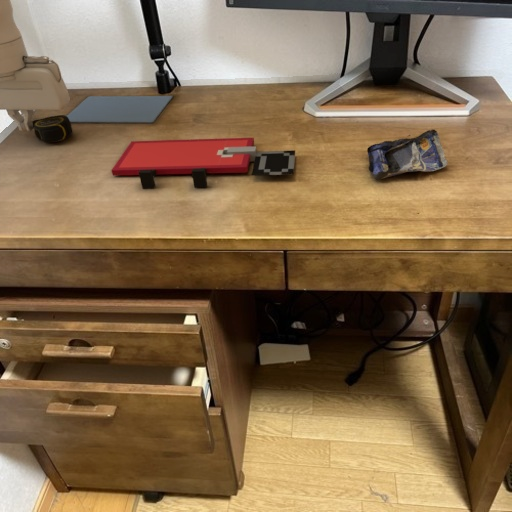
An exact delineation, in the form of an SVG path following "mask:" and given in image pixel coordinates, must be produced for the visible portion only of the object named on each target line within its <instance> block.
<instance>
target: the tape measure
mask: <svg viewBox="0 0 512 512" xmlns="http://www.w3.org/2000/svg"><path fill="white" fill-rule="evenodd" d="M32 123H33V128H34V129H33V131H34V135H35V137H36V138H37V139H38V140H39V142H42V143H57V142H61V141H64V140H65V139H67V138H69V137H71V135H72V134H73V126H72V123H70V120H69V118H68V117H67V115H64V114H59V115H53V116H52V115H51V116H46V117H43V118H39V119H34V120H32Z"/></svg>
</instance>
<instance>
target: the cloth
mask: <svg viewBox="0 0 512 512" xmlns="http://www.w3.org/2000/svg"><path fill="white" fill-rule="evenodd" d="M173 98H174V95H88V96H87V98H85V99H84V100H83V101H81V102H80V103H79V104H78V105H77V106H76V107H75V108H74V109H73V110H72V111H71V112H69V113H68V114H67V115H66V116H67V117H68V118H69V120H70V123H71V124H154V123H155V121H156V120H157V119H158V118H159V116H160V115H161V113H162V112H163V111H164V110H165V108H166V107H167V106H168V104H169V103H170V102H171V100H173Z"/></svg>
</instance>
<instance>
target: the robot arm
mask: <svg viewBox="0 0 512 512" xmlns="http://www.w3.org/2000/svg"><path fill="white" fill-rule="evenodd" d="M12 5H13V4H12V3H11V0H0V110H2V111H3V110H4V111H6V113H7V115H8V117H10V118H11V119H12V120H13V122H15V123H16V125H17V127H18V130H19V131H20V132H32V131H34V128H33V123H32V121H33V117H34V113H35V111H63V110H64V109H65V108H66V107H68V105H69V104H70V101H71V97H70V96H71V95H70V94H69V90H68V88H67V85H66V83H65V80H64V78H63V76H62V73H61V69H60V66H59V64H58V63H57V62H56V61H54V60H53V59H51V58H50V57H49V56H45V55H43V56H42V55H41V56H31V55H30V56H29V54H28V51H27V47H26V45H25V41H24V39H23V36H22V33H21V31H20V29H19V27H18V26H17V24H16V21H15V19H14V9H13V6H12Z"/></svg>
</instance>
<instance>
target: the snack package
mask: <svg viewBox="0 0 512 512" xmlns="http://www.w3.org/2000/svg"><path fill="white" fill-rule="evenodd" d="M410 136H411V134H409V135H407V136H406V137H410ZM366 152H367V156H368V162H369V166H368V171H369V173H370V174H371V176H372V178H373V179H374V180H375V181H381V180H382V179H385V178H389V177H392V176H398V175H402V174H404V173H409V172H410V173H411V172H412V173H413V172H434V171H437V170H441V169H443V168H445V167H446V166H447V165H448V160H447V159H446V157H445V154H446V153H445V151H444V149H443V146H442V143H441V141H440V136H439V133H438V131H437V130H436V129H429V130H426V131H424V132H422V133H420V134H419V135H418V136H415V137H412V138H399V139H394V140H385V141H383V142H379V143H374V144H372V145H369V146H368V147H367V150H366Z"/></svg>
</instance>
